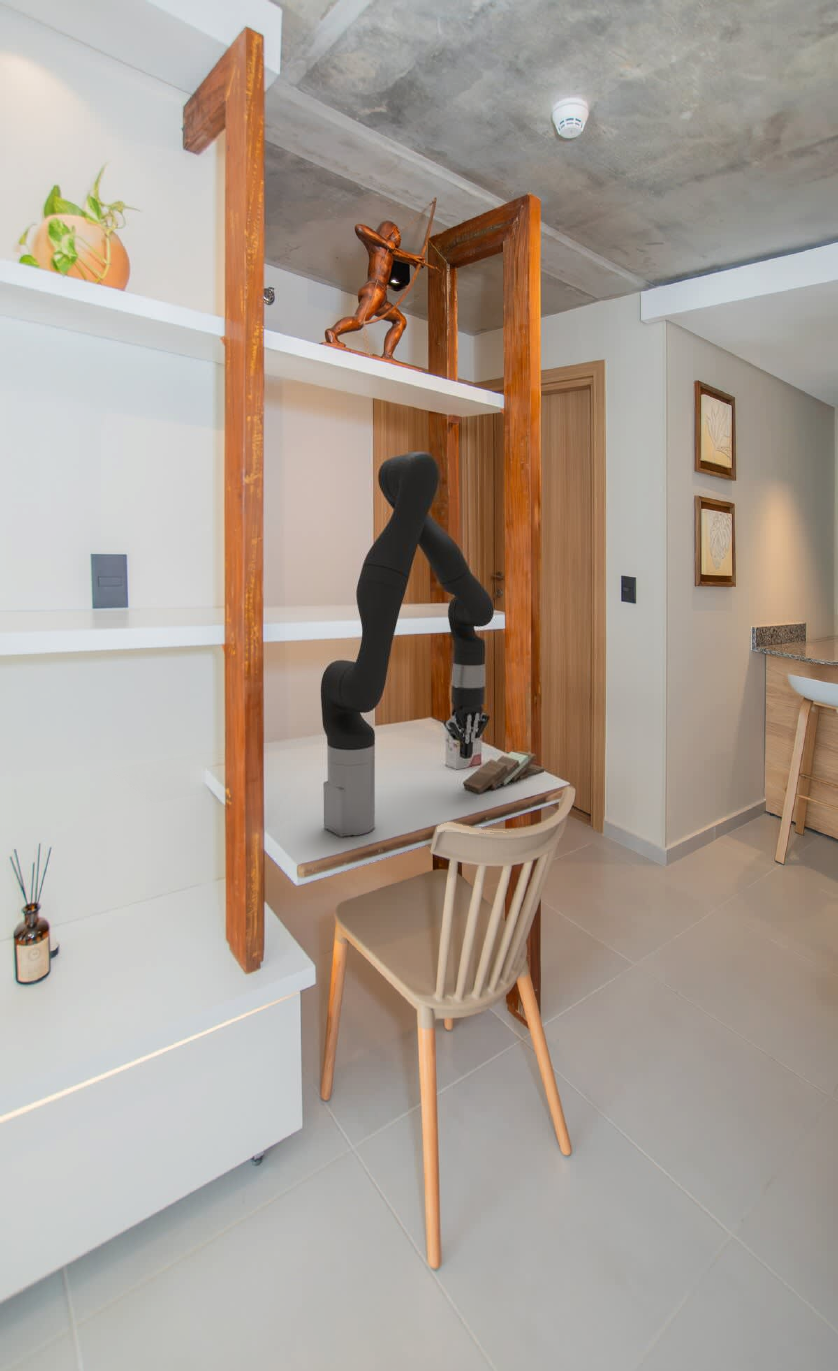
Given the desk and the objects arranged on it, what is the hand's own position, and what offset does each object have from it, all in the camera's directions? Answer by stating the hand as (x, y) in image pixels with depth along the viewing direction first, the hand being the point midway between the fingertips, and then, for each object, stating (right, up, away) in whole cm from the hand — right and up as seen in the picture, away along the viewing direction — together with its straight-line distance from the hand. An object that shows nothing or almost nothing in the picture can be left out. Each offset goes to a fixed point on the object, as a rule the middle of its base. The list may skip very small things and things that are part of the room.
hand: (465, 757), depth 151 cm
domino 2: (+5, -7, +4) cm, 9 cm away
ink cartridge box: (+1, -4, +21) cm, 22 cm away
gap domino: (+8, -6, +7) cm, 12 cm away
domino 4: (+12, -6, +12) cm, 18 cm away
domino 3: (+10, -6, +10) cm, 15 cm away
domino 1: (+1, -7, +1) cm, 7 cm away
